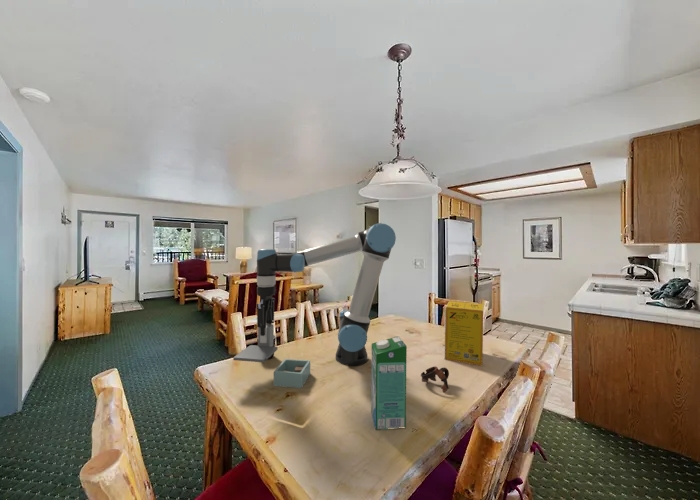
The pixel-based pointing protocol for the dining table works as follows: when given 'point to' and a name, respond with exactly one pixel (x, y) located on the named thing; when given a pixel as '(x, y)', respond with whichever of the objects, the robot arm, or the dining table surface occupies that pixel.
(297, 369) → the walnut block
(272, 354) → the coffee mug
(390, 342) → the milk carton
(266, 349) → the bookend
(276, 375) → the tub
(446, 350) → the packaging box
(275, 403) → the dining table surface
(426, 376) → the brown curved piece
